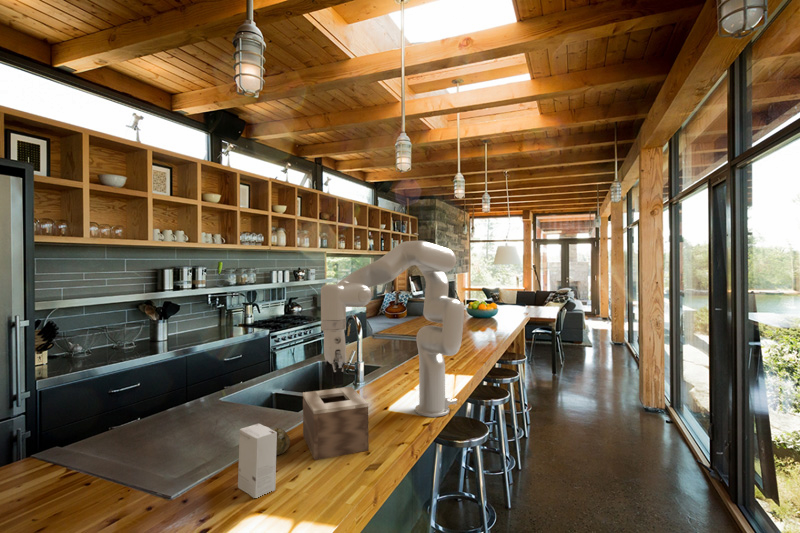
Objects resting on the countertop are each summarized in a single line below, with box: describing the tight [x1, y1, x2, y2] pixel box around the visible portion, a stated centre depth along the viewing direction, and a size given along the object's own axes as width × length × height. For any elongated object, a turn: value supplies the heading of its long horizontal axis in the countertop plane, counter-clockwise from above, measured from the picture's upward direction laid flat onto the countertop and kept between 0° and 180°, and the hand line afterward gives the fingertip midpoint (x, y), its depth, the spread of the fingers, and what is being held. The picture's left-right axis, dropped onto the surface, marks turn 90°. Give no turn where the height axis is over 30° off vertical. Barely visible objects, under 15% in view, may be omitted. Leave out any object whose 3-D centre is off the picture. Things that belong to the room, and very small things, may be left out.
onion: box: [272, 426, 291, 456], centre depth 128 cm, size 8×8×8 cm
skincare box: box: [237, 423, 277, 499], centre depth 108 cm, size 8×6×15 cm
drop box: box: [302, 386, 370, 461], centre depth 134 cm, size 16×18×14 cm
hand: (334, 380), depth 134 cm, fingers open, 9 cm apart
